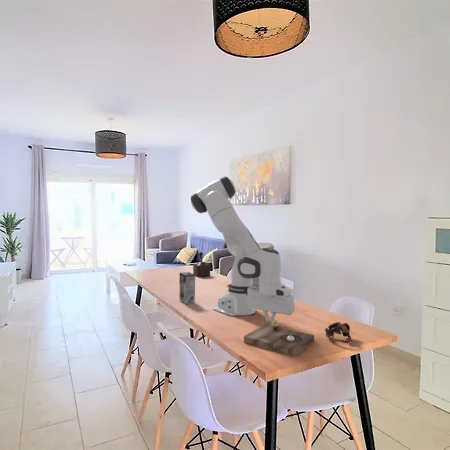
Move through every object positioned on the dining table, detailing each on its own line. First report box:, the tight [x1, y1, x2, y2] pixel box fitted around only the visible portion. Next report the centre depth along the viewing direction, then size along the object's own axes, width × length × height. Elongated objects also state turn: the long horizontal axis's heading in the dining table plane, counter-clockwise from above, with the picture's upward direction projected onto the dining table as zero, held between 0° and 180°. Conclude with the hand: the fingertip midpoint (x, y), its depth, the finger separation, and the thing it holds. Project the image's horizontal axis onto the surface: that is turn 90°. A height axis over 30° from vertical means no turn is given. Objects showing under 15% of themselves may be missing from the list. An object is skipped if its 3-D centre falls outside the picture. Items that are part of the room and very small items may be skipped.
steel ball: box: [286, 335, 295, 341], centre depth 132 cm, size 4×4×4 cm
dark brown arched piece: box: [324, 321, 353, 344], centre depth 138 cm, size 12×10×8 cm
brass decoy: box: [270, 320, 280, 329], centre depth 143 cm, size 4×4×4 cm
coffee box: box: [179, 271, 196, 305], centre depth 193 cm, size 9×6×16 cm
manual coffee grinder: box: [192, 251, 211, 279], centre depth 271 cm, size 16×11×18 cm
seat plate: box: [243, 323, 315, 357], centre depth 135 cm, size 22×18×2 cm
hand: (269, 321), depth 139 cm, fingers closed
